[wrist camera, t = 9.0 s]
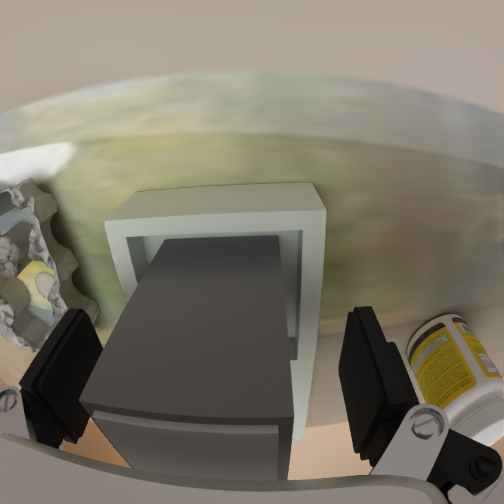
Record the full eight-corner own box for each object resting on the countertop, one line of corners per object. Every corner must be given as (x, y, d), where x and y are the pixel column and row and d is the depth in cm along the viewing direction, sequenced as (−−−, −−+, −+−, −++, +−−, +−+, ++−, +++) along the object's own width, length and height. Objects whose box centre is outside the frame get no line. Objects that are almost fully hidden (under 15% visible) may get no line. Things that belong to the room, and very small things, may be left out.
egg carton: (114, 330, 18) (90, 377, 15) (34, 326, 19) (9, 363, 15) (57, 166, 13) (7, 193, 10) (-21, 192, 14) (-63, 219, 10)
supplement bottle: (400, 369, 19) (435, 472, 12) (410, 320, 17) (463, 434, 10) (456, 354, 19) (500, 444, 11) (472, 305, 17) (535, 400, 9)
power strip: (135, 192, 14) (99, 224, 11) (311, 182, 13) (328, 213, 10) (187, 397, 21) (178, 440, 18) (299, 397, 20) (303, 442, 17)
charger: (164, 239, 13) (75, 406, 5) (278, 235, 12) (294, 425, 5) (182, 325, 15) (140, 483, 8) (278, 325, 15) (286, 494, 7)
